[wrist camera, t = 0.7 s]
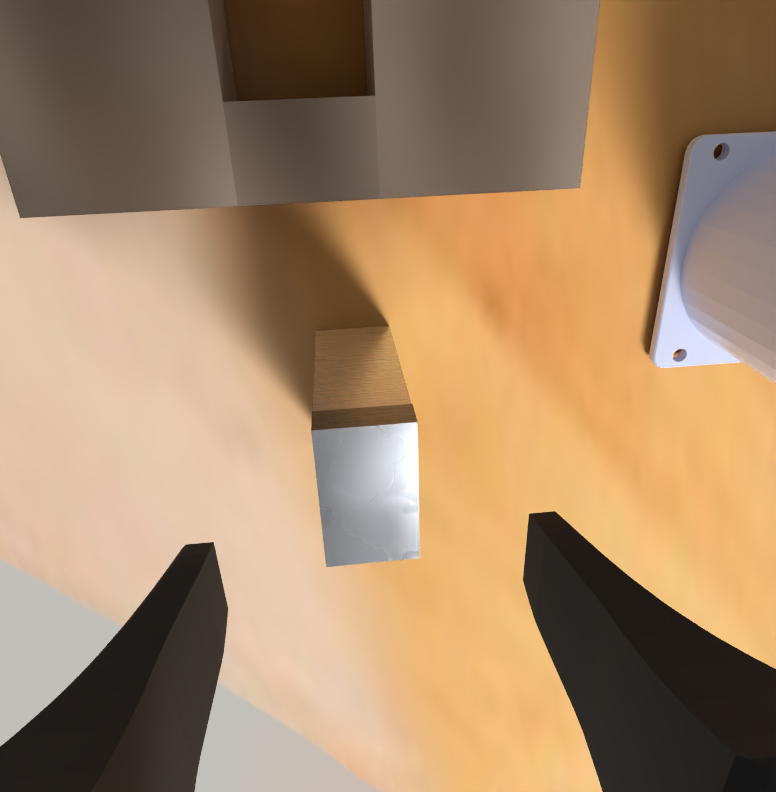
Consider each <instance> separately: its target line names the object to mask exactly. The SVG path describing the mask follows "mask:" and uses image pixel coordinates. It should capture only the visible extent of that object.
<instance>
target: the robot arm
mask: <svg viewBox="0 0 776 792" xmlns="http://www.w3.org/2000/svg"><path fill="white" fill-rule="evenodd" d="M719 144H721V145H722V152H721V154H720V156H719V157H718V158H716V159H715V158H714V154H713V152H714V150H715V148H716V147H717V146H718V145H719ZM678 349H681V352H680V354H679V355H678V356H677V357H674V358H673V355H674V352H676V351H677V350H678ZM649 358H650V360H651V362H652V363H653V364H655V365H656V366H658V367H659V368H671V367H684V366H697V365H710V364H724V363H737V362H743V363H744V364H746V365H747V366H749V367H751V368H752V369H754V370H755V371H757V372H758V373H760V374H761V375H763V376H765V377H766V378H768V379H769V380H771V381H772V382H774V383H775V384H776V131H770V132H749V133H728V134H707V135H700V136H697V137H696V138H694V139H693V140H692V141H691V142H690V143H689V145H688V146H687V149H686V152H685V157H684V162H683V168H682V174H681V179H680V185H679V190H678V196H677V202H676V207H675V213H674V218H673V224H672V230H671V235H670V241H669V246H668V252H667V257H666V263H665V269H664V274H663V280H662V285H661V291H660V297H659V302H658V308H657V313H656V319H655V325H654V330H653V336H652V341H651V347H650V352H649ZM523 582H524V585H525V589H526V592H527V596H528V599H529V602H530V606H531V609H532V612H533V615H534V618H535V621H536V624H537V626H538V629H539V631H540V633H541V636H542V638H543V640H544V642H545V645H546V647H547V649H548V652H549V654H550V656H551V658H552V661H553V663H554V665H555V667H556V670H557V672H558V674H559V676H560V679H561V681H562V683H563V685H564V688H565V690H566V692H567V695H568V697H569V699H570V701H571V704H572V706H573V708H574V710H575V713H576V715H577V718H578V720H579V723H580V725H581V728H582V730H583V733H584V736H585V739H586V742H587V745H588V748H589V751H590V754H591V757H592V760H593V763H594V766H595V769H596V772H597V775H598V778H599V781H600V784H601V788H602V791H603V792H776V669H774V668H772V667H770V666H769V665H767V664H765V663H763V662H761V661H759V660H757V659H755V658H753V657H751V656H749V655H748V654H746V653H744V652H742V651H740V650H739V649H737V648H735V647H733V646H732V645H730V644H728V643H726V642H724V641H723V640H721V639H719V638H718V637H716V636H714V635H713V634H711V633H709V632H708V631H706V630H704V629H703V628H701V627H700V626H698V625H697V624H695V623H693V622H692V621H690V620H689V619H687V618H686V617H684V616H683V615H681V614H680V613H678V612H677V611H675V610H674V609H672V608H671V607H669V606H668V605H667V604H665V603H664V602H662V601H661V600H659V599H658V598H657V597H656V596H654V595H653V594H652V593H650V592H649V591H648V590H646V589H645V588H644V587H642V586H641V585H640V584H638V583H637V582H636V581H634V580H633V579H632V578H631V577H629V576H628V575H627V574H626V573H624V572H623V571H622V570H621V569H620V568H618V567H617V566H616V565H615V564H614V563H612V562H611V561H610V560H609V559H608V558H607V557H605V556H604V555H603V554H602V553H601V552H600V551H598V550H597V549H596V548H595V547H594V546H593V545H592V544H591V543H589V542H588V541H587V540H586V539H585V538H584V537H583V536H582V535H581V534H579V533H578V532H577V531H576V530H575V529H574V528H573V527H572V526H571V525H570V524H568V523H567V522H566V521H565V520H564V519H563V518H562V517H561V516H560V515H558V514H557V513H556V512H543V513H532V514H529V521H528V532H527V543H526V554H525V565H524V576H523ZM227 615H228V606H227V602H226V597H225V593H224V588H223V583H222V579H221V574H220V570H219V565H218V560H217V556H216V551H215V547H214V542H211V543H200V544H188V545H185V546H184V547H183V548H182V549H181V551H180V552H179V554H178V555H177V556H176V558H175V559H174V561H173V562H172V563H171V565H170V566H169V567H168V569H167V570H166V572H165V573H164V574H163V576H162V577H161V578H160V580H159V581H158V583H157V584H156V585H155V587H154V588H153V589H152V591H151V592H150V593H149V594H148V596H147V597H146V598H145V600H144V601H143V602H142V603H141V605H140V606H139V607H138V608H137V610H136V611H135V612H134V614H133V615H132V616H131V617H130V619H129V620H128V621H127V622H126V624H125V625H124V626H123V627H122V628H121V630H120V631H119V632H118V633H117V634H116V635H115V636H114V637H113V639H112V640H111V641H110V642H109V643H108V644H107V646H106V647H105V648H104V649H103V650H102V651H101V653H100V654H99V655H98V656H97V657H96V658H95V659H94V660H93V661H92V663H90V665H89V666H88V667H87V668H86V669H85V670H84V671H83V672H82V673H81V674H80V675H79V676H78V677H77V678H76V679H75V680H74V681H73V682H72V683H71V684H70V685H69V686H68V687H67V688H66V689H65V690H64V691H63V692H62V693H61V694H60V695H59V696H58V697H57V698H56V699H55V700H54V701H52V702H51V703H50V704H49V705H48V706H47V707H46V708H45V709H43V711H41V712H40V713H39V714H38V715H37V716H36V717H34V718H33V719H32V720H31V721H30V722H29V723H28V724H27V725H25V726H24V727H23V728H22V729H21V730H20V731H19V732H17V733H16V734H15V735H14V736H13V737H12V738H10V739H9V740H8V741H7V742H5V743H4V744H3V745H2V746H1V747H0V792H194V790H195V783H196V776H197V771H198V765H199V760H200V755H201V750H202V746H203V742H204V737H205V733H206V729H207V724H208V720H209V715H210V711H211V707H212V702H213V698H214V694H215V689H216V685H217V680H218V676H219V672H220V667H221V663H222V658H223V653H224V644H225V636H226V626H227Z"/></svg>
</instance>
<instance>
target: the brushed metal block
mask: <svg viewBox="0 0 776 792" xmlns="http://www.w3.org/2000/svg"><path fill="white" fill-rule="evenodd" d="M311 432H312V441H313V450H314V459H315V468H316V478H317V487H318V496H319V505H320V514H321V523H322V532H323V541H324V550H325V559H326V567H331V566H342V565H352V564H363V563H373V562H384V561H394V560H405V559H415V558H420V556H419V490H418V425H417V419H416V415H415V412H414V408H413V405H412V404H411V401H410V397H409V394H408V390H407V387H406V383H405V380H404V376H403V373H402V369H401V365H400V362H399V358H398V355H397V351H396V348H395V344H394V341H393V337H392V333H391V330H390V326H377V327H362V328H348V329H333V330H318V331H316V336H315V365H314V394H313V411H312V426H311Z"/></svg>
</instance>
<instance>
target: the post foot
mask: <svg viewBox="0 0 776 792" xmlns="http://www.w3.org/2000/svg"><path fill="white" fill-rule="evenodd" d="M599 5H600V0H363V10H364V32H365V53H366V75H367V95H364V96H339V97H315V98H290V99H266V100H242V101H238V97H237V90H236V82H235V75H234V68H233V60H232V53H231V46H230V38H229V31H228V23H227V16H226V9H225V1H224V0H0V154H1V158H2V161H3V164H4V167H5V170H6V174H7V177H8V180H9V183H10V186H11V190H12V193H13V196H14V199H15V203H16V206H17V209H18V212H19V215H20V218H28V217H47V216H66V215H85V214H103V213H122V212H141V211H160V210H179V209H197V208H216V207H235V206H254V205H272V204H291V203H310V202H329V201H348V200H366V199H385V198H404V197H423V196H442V195H460V194H479V193H498V192H517V191H535V190H554V189H573V188H580V183H581V174H582V165H583V155H584V146H585V136H586V127H587V118H588V108H589V99H590V89H591V80H592V71H593V61H594V52H595V42H596V33H597V24H598V14H599Z"/></svg>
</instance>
